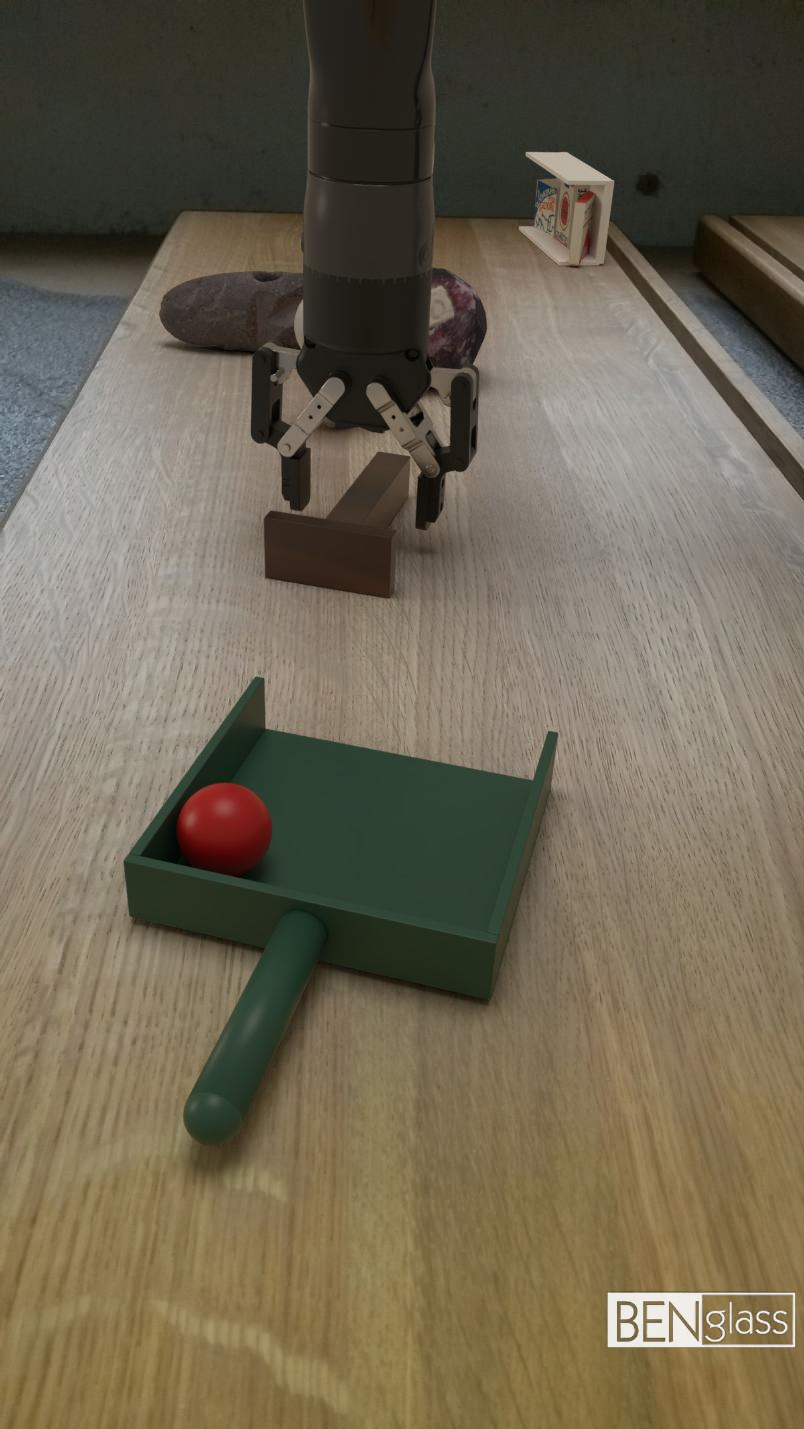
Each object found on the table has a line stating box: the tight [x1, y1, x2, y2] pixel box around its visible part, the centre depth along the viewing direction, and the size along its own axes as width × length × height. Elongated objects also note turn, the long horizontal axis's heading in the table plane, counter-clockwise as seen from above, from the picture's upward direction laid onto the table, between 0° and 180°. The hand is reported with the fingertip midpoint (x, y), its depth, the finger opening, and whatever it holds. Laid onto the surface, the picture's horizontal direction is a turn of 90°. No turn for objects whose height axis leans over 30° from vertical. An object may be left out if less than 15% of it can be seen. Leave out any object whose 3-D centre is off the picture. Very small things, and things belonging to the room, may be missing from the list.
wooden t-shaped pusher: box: [263, 451, 411, 599], centre depth 79 cm, size 15×8×4 cm, turn 165°
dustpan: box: [123, 676, 559, 1147], centre depth 49 cm, size 24×15×3 cm, turn 165°
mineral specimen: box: [428, 267, 488, 369], centre depth 105 cm, size 10×10×10 cm
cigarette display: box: [518, 151, 615, 267], centre depth 149 cm, size 20×6×9 cm, turn 10°
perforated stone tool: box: [158, 270, 303, 353], centre depth 111 cm, size 15×5×7 cm, turn 88°
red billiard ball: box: [176, 783, 272, 877], centre depth 51 cm, size 4×4×4 cm
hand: (361, 515), depth 79 cm, fingers open, 8 cm apart
